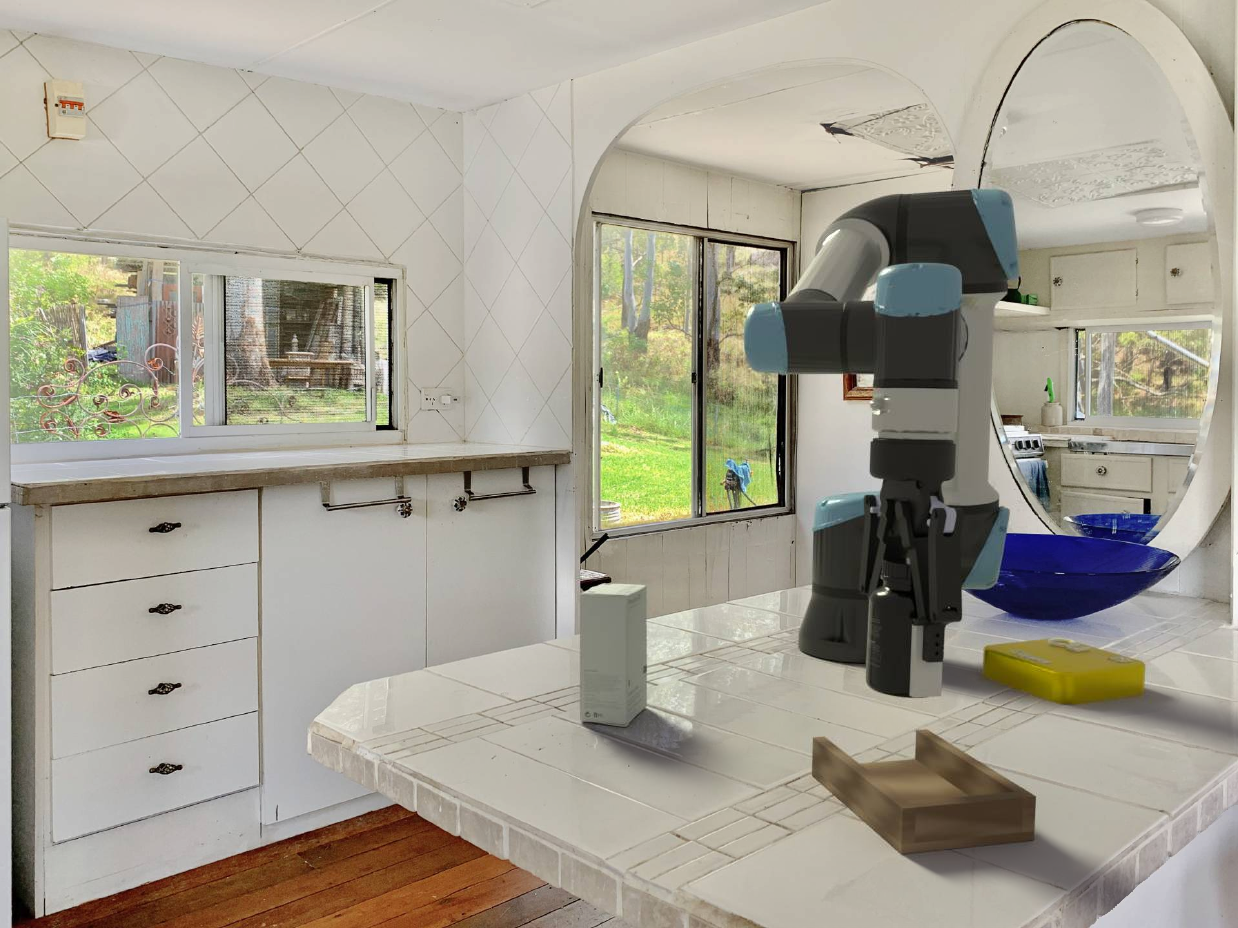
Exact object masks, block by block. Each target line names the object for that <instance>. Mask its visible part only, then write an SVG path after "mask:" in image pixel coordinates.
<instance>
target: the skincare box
mask: <svg viewBox="0 0 1238 928" xmlns="http://www.w3.org/2000/svg"><path fill="white" fill-rule="evenodd" d="M647 591H648V586H647V584H630V583H628V584H627V583H625V584H624V583H605V582H604V583H601V584H598V585H597V586H596V585H595V586H592V587H590V588H589V589H588V590H585V591H583V592H581V593H580V594H579V720H580V721H581V722H587V723H597V724H603V725H608V726H615V727H622V728H623V727H624V728H626V727H628V726H629V725H630V723H631V722H632V720H633V719H634V718H635V717H636V716H638V715H639V714H640V713H641V712H642V711H644V710H645V709H646V708H647V705H648V701H647V700H648V696H647V695H648V693H647V692H648V690H647V689H648V683H647V682H648V679H647V678H648V676H647V675H648V673H647V672H648V671H647V670H648V665H647V664H648V661H647V660H648V658H647V657H648V656H647V655H648V654H647V653H648V652H647V651H648V650H647V649H648V644H647V643H648V641H647V640H648V639H647V637H648V636H647V635H648V634H647V633H648V632H647V631H648V627H647V626H648V625H647V606H648V605H647V603H648V601H647V593H648V592H647Z"/></svg>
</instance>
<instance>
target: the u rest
mask: <svg viewBox="0 0 1238 928" xmlns="http://www.w3.org/2000/svg"><path fill="white" fill-rule="evenodd" d="M914 752H915V753H914V758H913V759H899V760H887V761H877V762H864V763H860V762H858V761H857V760H855V759H854V758H853V757H852V756H850V754H847V753H846V752H845V751H844V750H842V749H841V748H840V747H839V746H837V745H836V744H835V743H833V742H832V741H831V740H830V739H828V738H827V737H825V736H816V737H814V736H813V737H812V753H811V756H812V759H811V760H812V761H811V776H812V777H813V778H814V779H815V780H817V781H818V782H819V783H820V784H821V785H822V786H823V787H824V788H826V790H828V791H829V792H830V793H831V794H832V795H833V796H835V797H836V798H837V799H838V800H840V802H842V803H843V805H845V806H846V807H847V808H848V809H849V810H850V811H852V812H853V813H854V814H855V815H856V816H857V817H859V818H860V819H861V820H862V821H863V823H865V824H866V825H868V826H869V827H870V828H871V829H872V830H873V831H874V832H875V833H877V834H878V835H879V836H880V837H881V838H882V839H883V840H884V841H886V842H887V844H889V845H890V846H892V847H893V848H894V850H896V851H897V852H898V853H900V855H904V854H913V853H914V854H915V853H924V852H932V851H943V850H952V849H961V848H962V849H963V848H973V847H980V846H981V847H982V846H990V845H1000V844H1011V843H1019V842H1021V843H1022V842H1028V841H1035V827H1036V808H1037V807H1036V806H1037V796H1036V795H1034V794H1033V793H1031V792H1030V791H1029V790H1027V789H1025V788H1023V787H1022V786H1020V785H1019V784H1017V783H1016V782H1014V781H1011V779H1008V777H1006V776H1004V775H1002V774H1001V773H999V772H998V771H995V770H994V769H992V768H991V767H989V766H987V765H986V764H984V763H982V762H981V761H979V760H977V759H976V758H974V757H973V756H971V755H969V754H968V753H967V752H965V751H963V750H961V749H960V748H958V747H957V746H955V745H953V744H952V743H950V742H948V741H947V740H946V739H943V738H942V737H940V736H939V735H937V734H935V733H934V732H933V731H930V730H929V729H928V728H926V729H924V728H923V729H916V730H915V751H914Z"/></svg>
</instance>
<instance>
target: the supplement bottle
mask: <svg viewBox="0 0 1238 928" xmlns="http://www.w3.org/2000/svg"><path fill="white" fill-rule="evenodd" d="M880 578H881V579H882V580H883V585H882V586H880V587H878V588H876V589H875V590H874V591H873V592H872V594H871V595H870V598H869V613H868V634H867V655H866V663H865V683H866V685H867V686H868V687H869V689H871V690H872V691H874V692H877V693H880V694H883V695H887V696H892V697H897V698H906V699H914V698H913V697H912V696H910V668H911V641H912V623H911V620H912V619H917V618H918V614H917V607H916V600H915V593H914V586H913V579H912V572H911V565H910V558H886V559H883V561H882V573H881V574H880ZM942 667H943V663H942ZM924 698H925V699H926V698H928V697H919V698H918V699H924Z"/></svg>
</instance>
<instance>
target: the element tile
mask: <svg viewBox="0 0 1238 928" xmlns="http://www.w3.org/2000/svg"><path fill="white" fill-rule="evenodd" d="M982 651H983V654H982V674H981V676H982V677H984V678H986V679H988V680H991V681H994V682H997V683H999V684H1002V685H1004V686H1007V687H1010V688H1013V689H1015V690H1019V691H1021V692H1024V693H1027V694H1029V695H1032V696H1035V697H1038V698H1040V699H1043V700H1045V701H1048V702H1051V703H1055V704H1058V705H1068V706H1069V705H1071V706H1074V705H1081V704H1082V705H1083V704H1090V703H1097V702H1103V701H1108V700H1110V701H1111V700H1117V699H1122V698H1123V699H1124V698H1130V697H1137V696H1142V695H1144V694H1145V685H1146V684H1145V683H1146V682H1145V680H1146V664H1145V662H1144V661H1142V660H1139V659H1135V658H1131V657H1129V656H1125V655H1121V654H1118V653H1114V652H1111V651H1108V650H1105V649H1101V648H1097V647H1094V646H1091V645H1087V644H1083V643H1080V642H1077V640H1076V641H1075V640H1073V639H1069V638H1064V637H1063V638H1062V637H1051V638H1041V639H1035V640H1025V641H1016V642H1007V643H1006V642H1004V643H995V644H988V645H985V646H983V650H982Z"/></svg>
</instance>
